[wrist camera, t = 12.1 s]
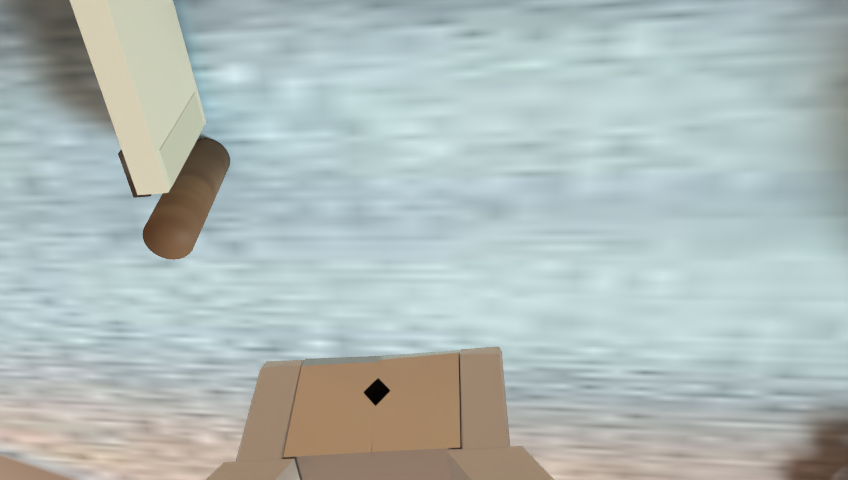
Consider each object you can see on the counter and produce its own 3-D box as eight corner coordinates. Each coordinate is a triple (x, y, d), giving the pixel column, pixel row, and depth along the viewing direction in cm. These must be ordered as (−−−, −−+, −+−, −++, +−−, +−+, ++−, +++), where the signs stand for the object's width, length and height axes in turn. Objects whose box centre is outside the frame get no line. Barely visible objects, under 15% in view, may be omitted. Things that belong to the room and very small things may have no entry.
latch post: (154, 101, 36) (103, 175, 30) (213, 96, 36) (172, 170, 30) (178, 179, 38) (135, 262, 33) (234, 175, 38) (199, 257, 32)
